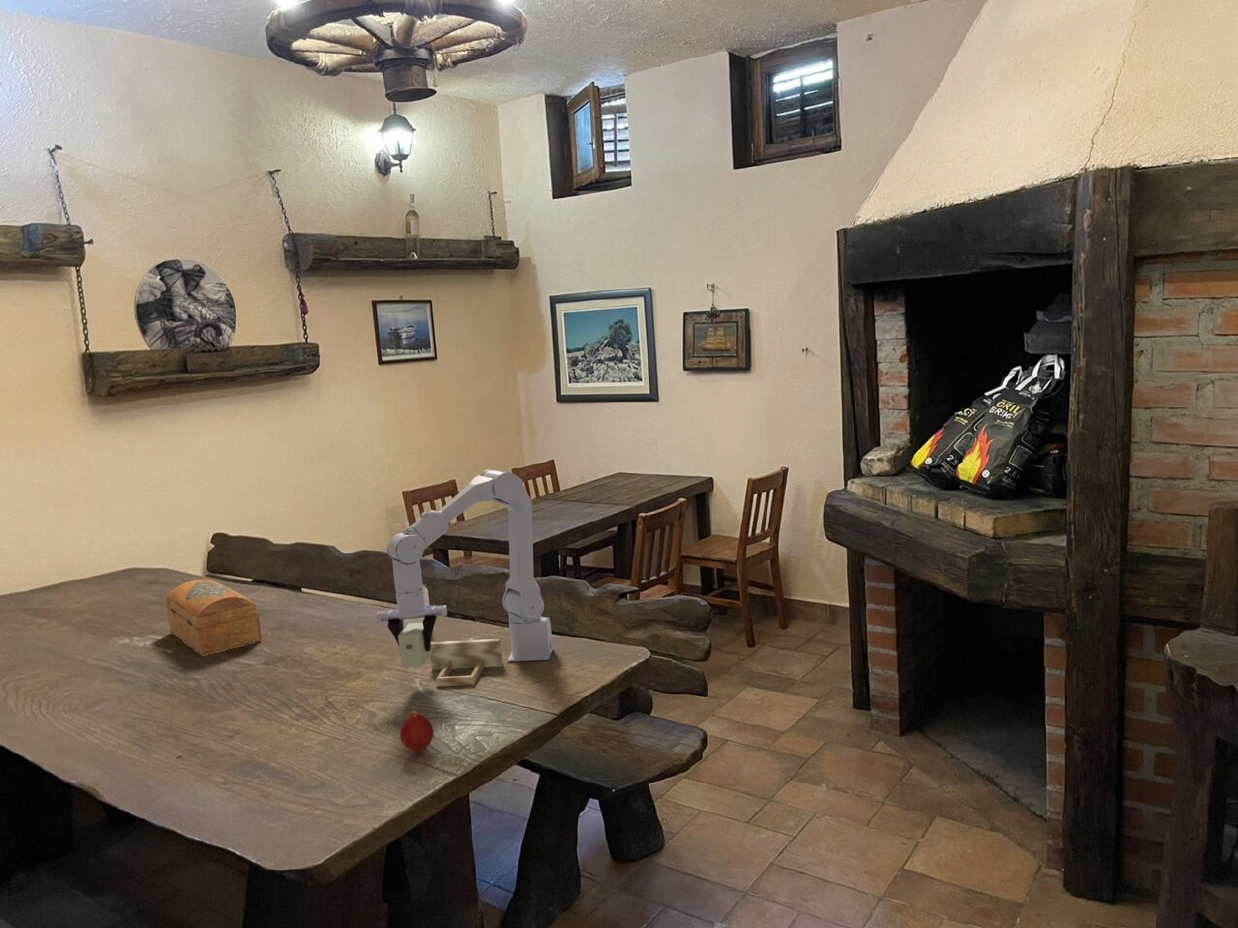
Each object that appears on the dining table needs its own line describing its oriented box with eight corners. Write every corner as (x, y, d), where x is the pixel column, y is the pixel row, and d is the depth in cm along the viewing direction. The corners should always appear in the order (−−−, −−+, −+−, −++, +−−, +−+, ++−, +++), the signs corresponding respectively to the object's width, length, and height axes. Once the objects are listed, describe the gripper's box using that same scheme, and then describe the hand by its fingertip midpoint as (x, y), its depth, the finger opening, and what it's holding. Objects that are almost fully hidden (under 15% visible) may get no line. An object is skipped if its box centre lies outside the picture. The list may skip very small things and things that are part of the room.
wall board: (502, 663, 204) (500, 638, 204) (492, 683, 193) (489, 657, 192) (433, 667, 206) (430, 642, 205) (419, 687, 194) (416, 660, 193)
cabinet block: (431, 653, 198) (428, 622, 197) (421, 667, 189) (417, 635, 188) (412, 654, 198) (408, 623, 197) (400, 668, 189) (397, 636, 188)
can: (425, 635, 229) (420, 590, 227) (402, 635, 230) (397, 590, 229) (435, 627, 235) (431, 583, 234) (412, 627, 237) (408, 583, 235)
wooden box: (266, 641, 235) (259, 589, 233) (199, 659, 225) (192, 605, 223) (231, 619, 258) (225, 572, 256) (169, 634, 248) (162, 585, 246)
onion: (405, 747, 165) (400, 705, 164) (436, 743, 165) (432, 702, 164) (400, 761, 159) (395, 718, 158) (433, 758, 160) (428, 715, 159)
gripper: (445, 581, 196) (452, 641, 198) (378, 587, 195) (385, 647, 197) (441, 590, 189) (448, 652, 191) (371, 596, 188) (379, 658, 190)
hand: (416, 650), depth 193 cm, fingers closed on cabinet block, 5 cm apart
